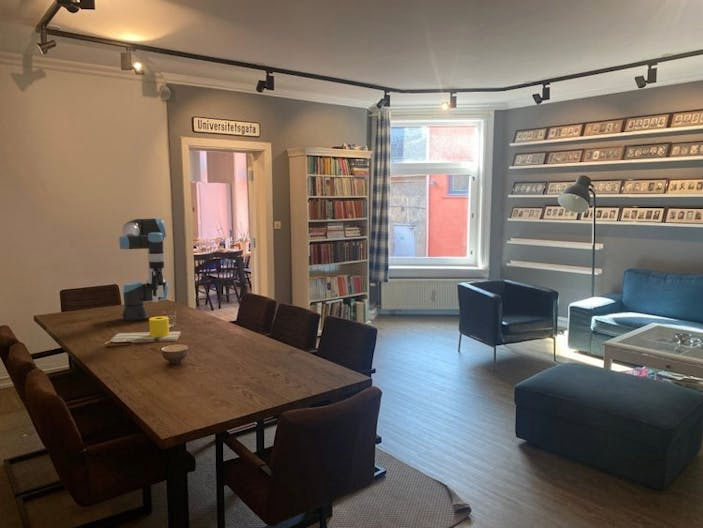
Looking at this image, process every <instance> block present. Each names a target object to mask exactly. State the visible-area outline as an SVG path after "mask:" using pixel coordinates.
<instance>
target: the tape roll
mask: <svg viewBox="0 0 703 528" xmlns="http://www.w3.org/2000/svg"><path fill="white" fill-rule="evenodd" d="M148 320H149V321H148V322H149V332H150V336H151V337H165V336H168V335H169V331H170V323H169V322H170V321H169V320H170V318H169V317H168V316H163V315H162V316H153V317H149V319H148Z"/></svg>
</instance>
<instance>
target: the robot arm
mask: <svg viewBox="0 0 703 528" xmlns="http://www.w3.org/2000/svg"><path fill="white" fill-rule="evenodd" d="M165 227H166V225H165V221H164V219H162V218H136V219H132V220H129V221H127V222H126V223H125V224H124V225H123V227H122V234H123V235H119V241H118V242H119V249H121V250H127V251H128V250H139V249H140V250H144V249H145V250H146V249H147V268H148V269H147V271H148V279H147V280H146V283H144V282H143V281H133V282H128V283H126V284H124V285H123V289H122V290H123V292H122V294H123V310H122V313H121V321H127V322H136V321H143V320H145V319H147V318H148V313H147V310H146V308H145V305H144V303H145V302H152V303H158V302H161V301H165V300H167V296H168V293H169V292H168V290H169V282H166V279H165V278H164V275H163V273H164V272H163V269H164V268H165V262H164V261H165V253H164V241H165V238H167V233H166V228H165Z"/></svg>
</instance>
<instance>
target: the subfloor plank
mask: <svg viewBox="0 0 703 528" xmlns="http://www.w3.org/2000/svg"><path fill="white" fill-rule="evenodd" d="M181 334H182V331H181V330H178V331H177V330H174V331H170V330H169V335H168V336H165V337H151V336H150V331H144V332H143V331H141V332H140V331H139V332H136V331H135V332H117V334H115V335H114V336H113V337H112V338H111V339H110V340H109V343H110V342H113V341H123V340H128V341H131V342H132V343H134V344H135V343H158V342H161V343H162V342H164V343H165V342H176V341H177V340H178V338H179V337H180V336H181Z"/></svg>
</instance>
